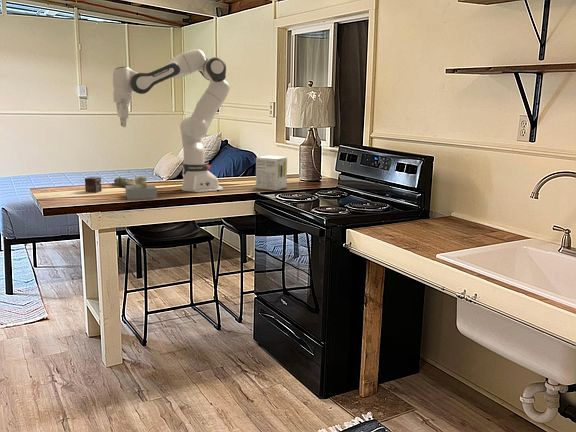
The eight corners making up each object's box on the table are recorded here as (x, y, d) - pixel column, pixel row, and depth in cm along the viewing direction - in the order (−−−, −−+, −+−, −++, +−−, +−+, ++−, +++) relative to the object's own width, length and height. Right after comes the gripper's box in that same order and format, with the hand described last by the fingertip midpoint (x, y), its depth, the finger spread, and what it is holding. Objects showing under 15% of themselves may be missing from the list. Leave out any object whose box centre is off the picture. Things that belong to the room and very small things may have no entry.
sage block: (145, 186, 283) (145, 176, 282) (146, 187, 279) (146, 177, 278) (135, 186, 281) (134, 176, 280) (136, 188, 277) (135, 178, 276)
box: (95, 193, 290) (95, 178, 289) (85, 192, 291) (84, 178, 290) (101, 191, 296) (101, 177, 294) (91, 190, 297) (90, 176, 296)
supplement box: (276, 190, 308) (276, 158, 305) (255, 188, 314) (255, 157, 311) (287, 187, 320) (287, 156, 316) (266, 185, 326) (267, 155, 322)
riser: (153, 194, 289) (153, 184, 288) (157, 198, 278) (156, 188, 277) (125, 195, 284) (125, 185, 283) (127, 199, 273) (127, 189, 272)
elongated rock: (140, 195, 295) (157, 194, 302) (140, 185, 294) (157, 184, 301) (108, 183, 319) (124, 182, 326) (109, 174, 318) (125, 173, 325)
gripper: (130, 99, 278) (131, 127, 281) (127, 99, 297) (127, 125, 299) (117, 99, 276) (118, 127, 279) (114, 98, 294) (115, 125, 297)
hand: (123, 126), depth 289 cm, fingers open, 8 cm apart
